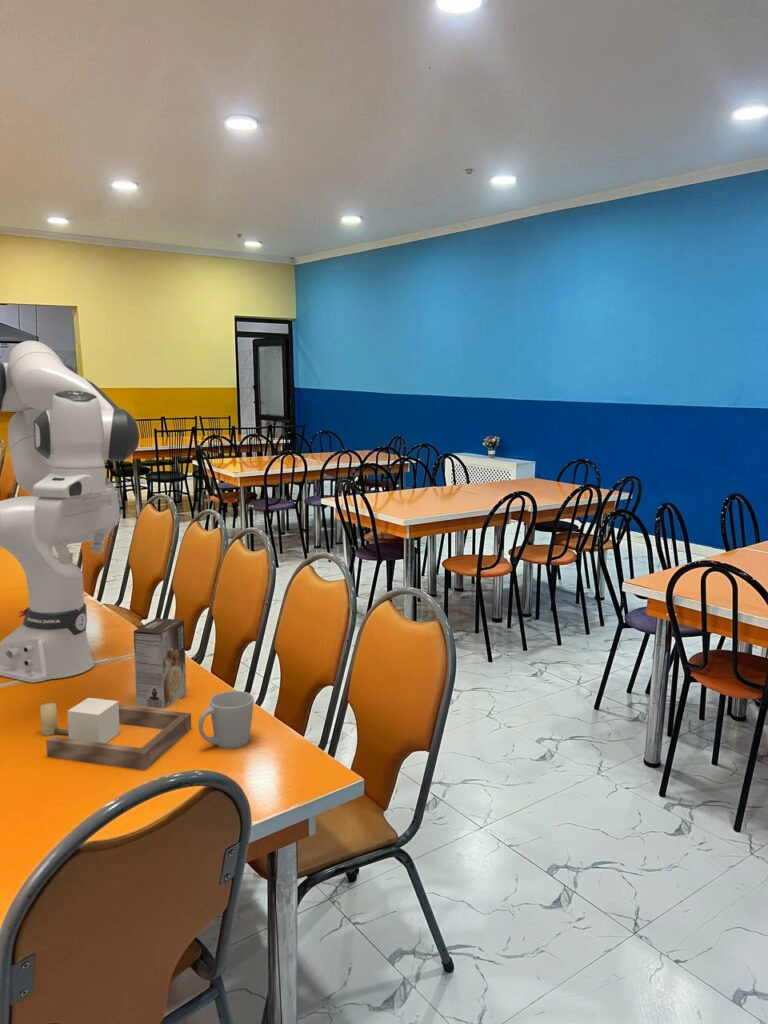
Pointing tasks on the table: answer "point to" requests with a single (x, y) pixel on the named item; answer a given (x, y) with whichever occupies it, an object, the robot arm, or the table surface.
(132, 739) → the table surface
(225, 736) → the cup
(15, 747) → the table surface
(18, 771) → the table surface
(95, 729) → the white cube and knob
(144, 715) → the shelf lane
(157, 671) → the coffee box
